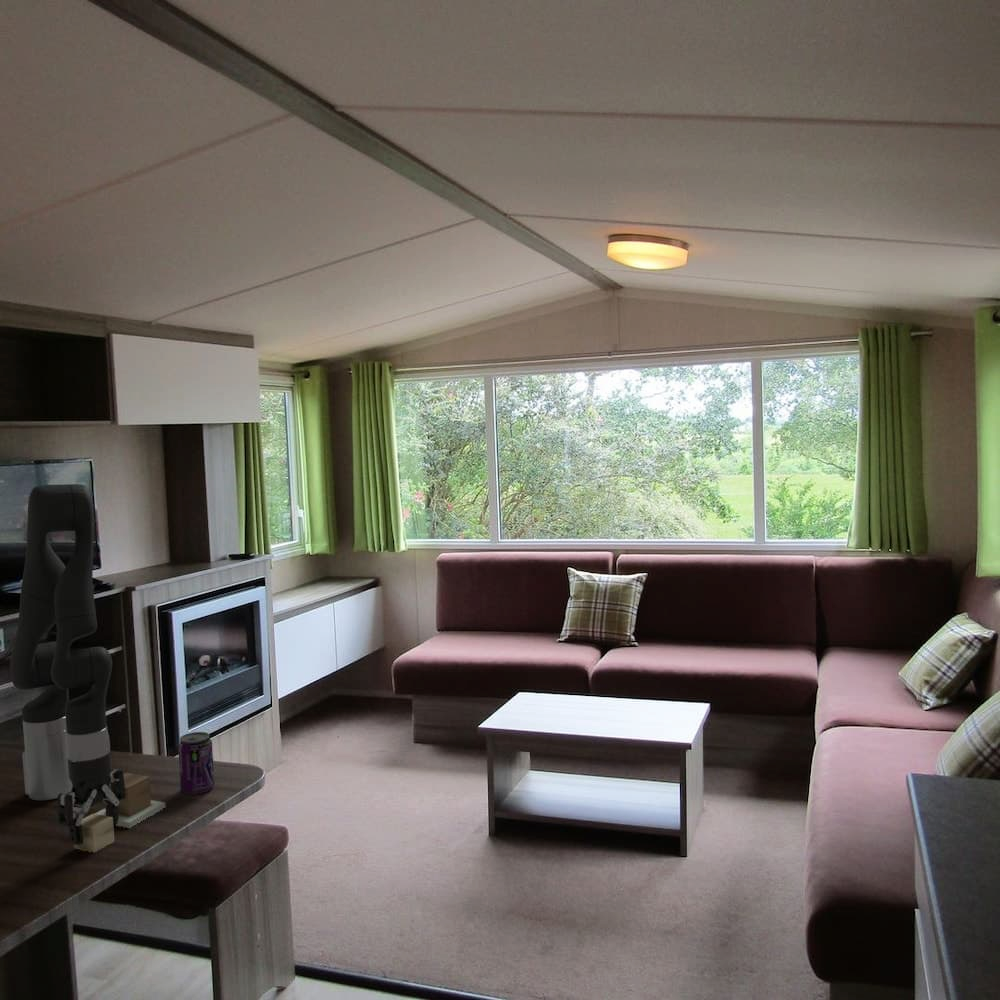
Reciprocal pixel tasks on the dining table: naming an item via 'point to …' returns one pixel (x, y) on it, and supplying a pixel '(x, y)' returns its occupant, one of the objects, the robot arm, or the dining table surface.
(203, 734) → the beverage can
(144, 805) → the walnut cube
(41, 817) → the dining table surface
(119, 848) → the dining table surface
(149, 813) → the plate
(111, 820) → the beech cube
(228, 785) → the dining table surface
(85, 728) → the robot arm
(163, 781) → the dining table surface
